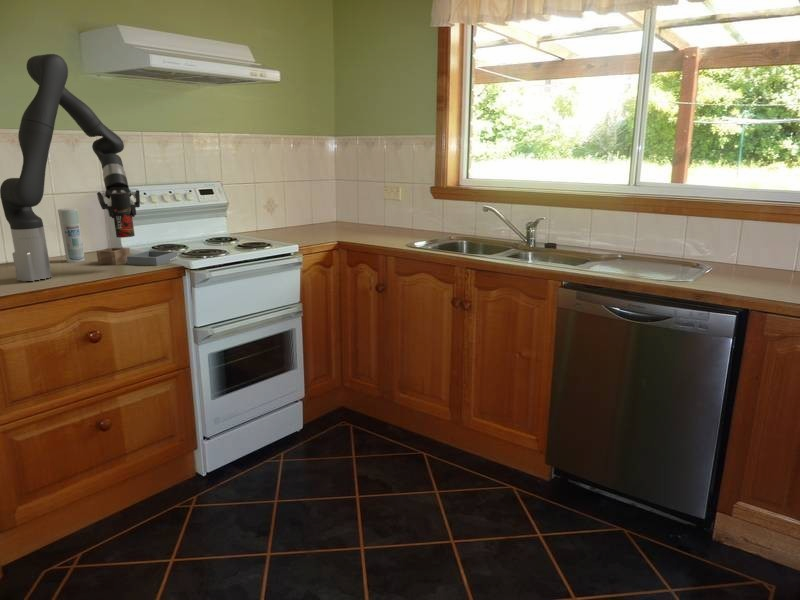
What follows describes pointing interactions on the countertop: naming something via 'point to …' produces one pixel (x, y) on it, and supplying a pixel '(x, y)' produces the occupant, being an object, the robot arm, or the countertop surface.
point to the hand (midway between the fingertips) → (123, 216)
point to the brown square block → (113, 255)
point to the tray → (151, 258)
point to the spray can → (71, 234)
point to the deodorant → (122, 215)
